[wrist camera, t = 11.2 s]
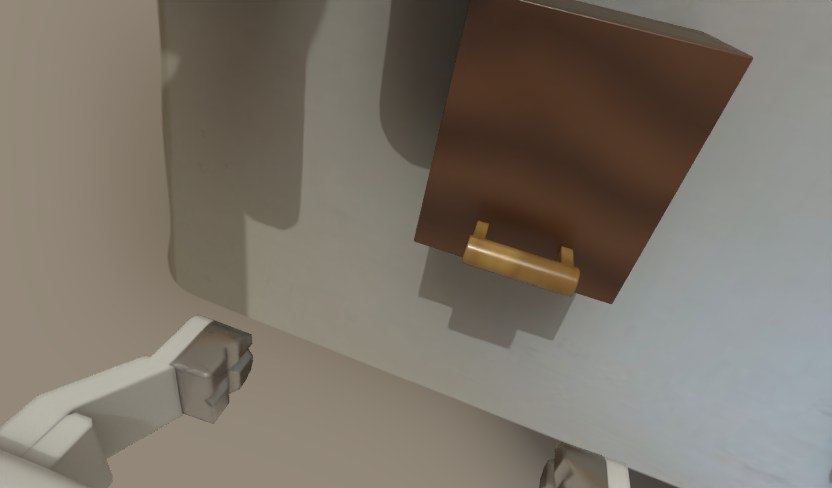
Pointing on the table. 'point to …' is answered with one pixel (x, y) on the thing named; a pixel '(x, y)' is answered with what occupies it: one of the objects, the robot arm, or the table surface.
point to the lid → (567, 142)
